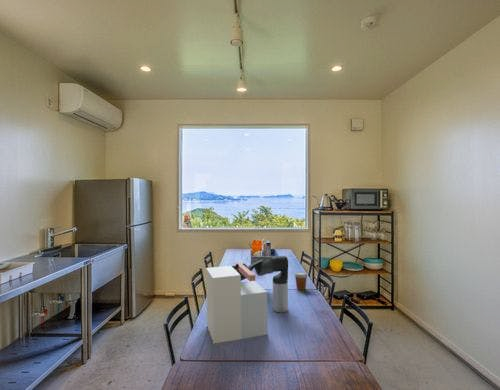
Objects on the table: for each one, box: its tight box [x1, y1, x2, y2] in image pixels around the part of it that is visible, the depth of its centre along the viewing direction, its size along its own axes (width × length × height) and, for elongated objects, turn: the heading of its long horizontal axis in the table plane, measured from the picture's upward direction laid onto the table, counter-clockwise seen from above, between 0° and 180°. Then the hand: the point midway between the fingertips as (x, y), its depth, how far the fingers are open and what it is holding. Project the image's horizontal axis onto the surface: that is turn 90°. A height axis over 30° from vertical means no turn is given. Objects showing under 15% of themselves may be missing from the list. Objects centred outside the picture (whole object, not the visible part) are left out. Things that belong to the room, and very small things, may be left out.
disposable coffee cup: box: [294, 271, 308, 291], centre depth 219 cm, size 10×10×12 cm
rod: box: [235, 261, 256, 282], centre depth 163 cm, size 28×3×3 cm, turn 18°
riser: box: [205, 265, 269, 345], centre depth 155 cm, size 20×28×32 cm
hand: (241, 265), depth 170 cm, fingers closed on rod, 3 cm apart
